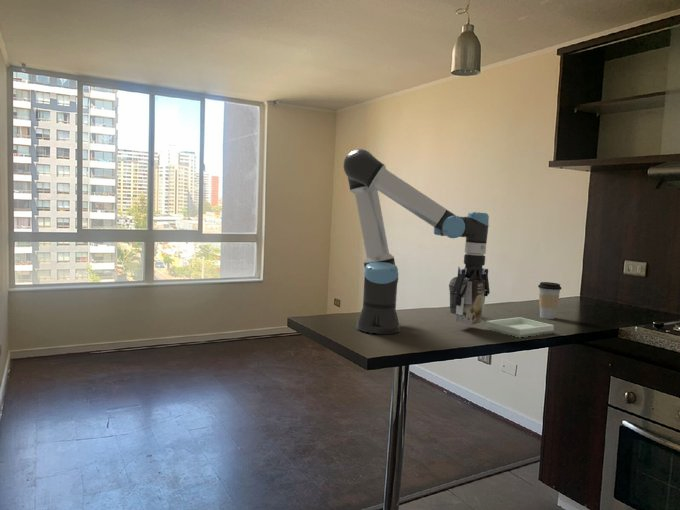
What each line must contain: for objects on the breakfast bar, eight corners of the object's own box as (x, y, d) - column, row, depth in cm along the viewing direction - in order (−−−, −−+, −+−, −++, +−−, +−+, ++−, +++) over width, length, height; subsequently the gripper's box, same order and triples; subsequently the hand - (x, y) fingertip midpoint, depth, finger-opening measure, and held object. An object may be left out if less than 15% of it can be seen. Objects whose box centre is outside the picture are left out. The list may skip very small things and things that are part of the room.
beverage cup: (446, 313, 220) (449, 266, 219) (447, 310, 227) (450, 265, 226) (463, 314, 218) (466, 268, 217) (464, 312, 225) (467, 266, 223)
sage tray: (519, 338, 180) (520, 329, 180) (485, 328, 193) (486, 321, 193) (553, 333, 192) (554, 325, 191) (519, 324, 204) (519, 317, 204)
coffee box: (471, 325, 186) (475, 281, 184) (455, 322, 190) (459, 279, 188) (481, 322, 193) (485, 280, 192) (466, 319, 197) (470, 277, 196)
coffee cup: (554, 316, 226) (557, 282, 225) (561, 320, 217) (565, 285, 215) (532, 314, 227) (535, 281, 226) (538, 319, 218) (541, 284, 216)
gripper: (461, 255, 180) (455, 317, 182) (503, 255, 192) (497, 313, 194) (445, 252, 186) (440, 313, 188) (487, 253, 199) (482, 309, 201)
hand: (469, 313), depth 191 cm, fingers closed on coffee box, 10 cm apart
